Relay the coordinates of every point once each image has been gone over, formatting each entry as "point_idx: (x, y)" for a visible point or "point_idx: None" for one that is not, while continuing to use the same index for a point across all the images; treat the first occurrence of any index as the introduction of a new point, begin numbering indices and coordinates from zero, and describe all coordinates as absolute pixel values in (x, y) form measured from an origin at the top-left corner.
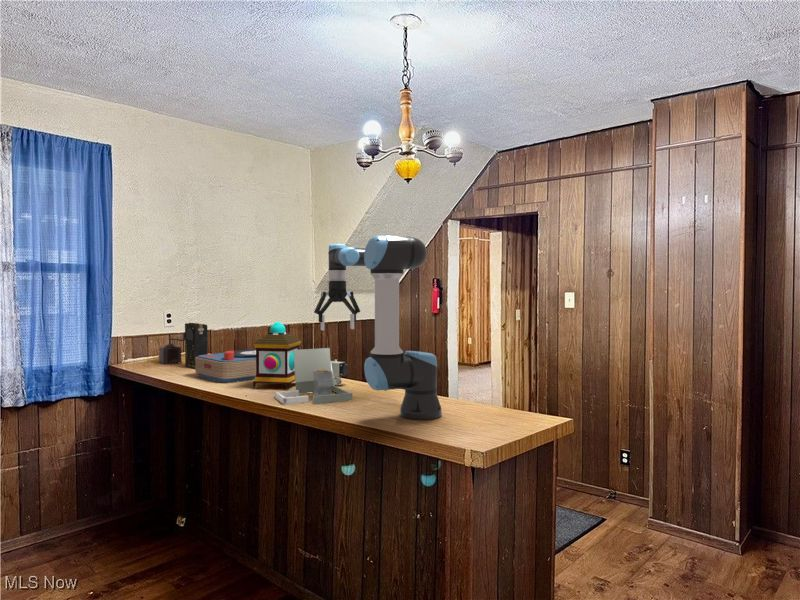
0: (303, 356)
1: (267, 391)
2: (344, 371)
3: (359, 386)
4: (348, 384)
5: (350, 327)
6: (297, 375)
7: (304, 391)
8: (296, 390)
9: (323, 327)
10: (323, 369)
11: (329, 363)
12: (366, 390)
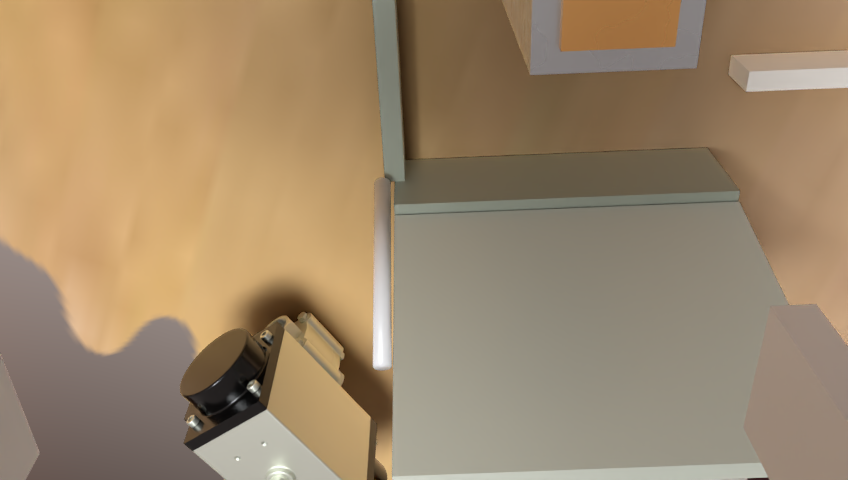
0: (718, 390)
1: (840, 316)
2: (232, 342)
3: (134, 231)
4: (204, 331)
5: (22, 466)
6: (739, 241)
7: (641, 156)
8: (768, 74)
9: (833, 352)
10: (590, 42)
11: (407, 324)
12: (108, 51)
